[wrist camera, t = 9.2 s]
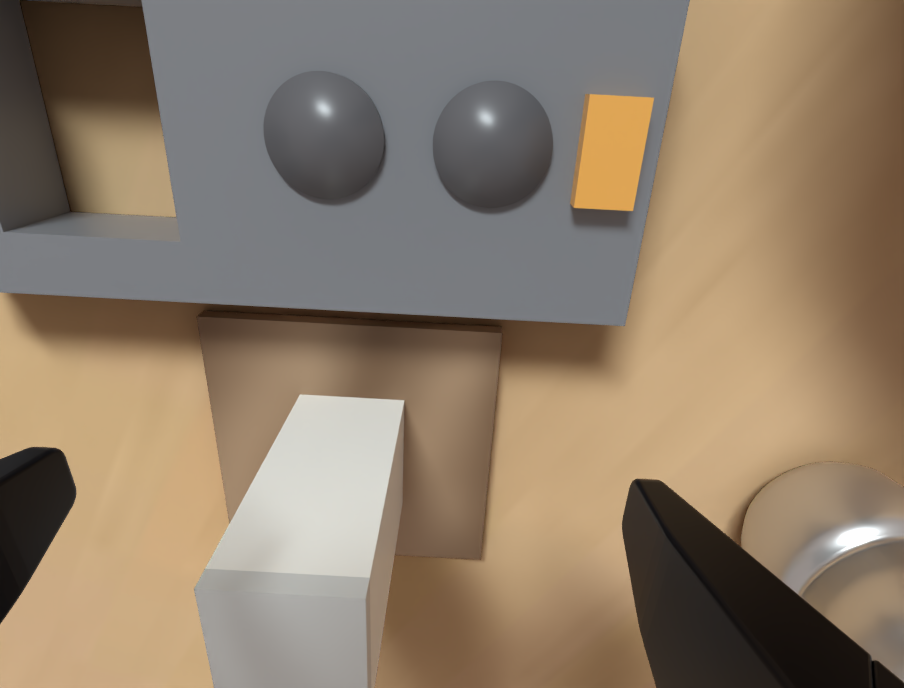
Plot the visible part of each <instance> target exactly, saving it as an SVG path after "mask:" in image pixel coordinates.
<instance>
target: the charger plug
mask: <svg viewBox="0 0 904 688" xmlns="http://www.w3.org/2000/svg"><path fill="white" fill-rule="evenodd" d="M403 450H404V400H390V399H373V398H355V397H337V396H319V395H301V394H300V395H299V397H298V399H297V401H296V403H295V404H294V406H293V408H292V410H291V412H290V414H289V415H288V417H287V419H286V421H285V423H284V425H283V427H282V428H281V430H280V432H279V434H278V436H277V438H276V439H275V441H274V443H273V445H272V447H271V449H270V450H269V452H268V454H267V456H266V458H265V460H264V461H263V463H262V465H261V467H260V469H259V471H258V472H257V474H256V476H255V478H254V480H253V482H252V483H251V485H250V487H249V489H248V491H247V493H246V495H245V496H244V498H243V500H242V502H241V504H240V506H239V507H238V509H237V511H236V513H235V515H234V517H233V518H232V520H231V522H230V524H229V526H228V528H227V529H226V531H225V533H224V535H223V537H222V539H221V540H220V542H219V544H218V546H217V548H216V550H215V551H214V553H213V555H212V557H211V559H210V561H209V563H208V564H207V566H206V568H205V570H204V572H203V574H202V575H201V577H200V579H199V581H198V583H197V585H196V586H195V588H194V591H195V596H196V601H197V606H198V611H199V616H200V621H201V626H202V631H203V635H204V640H205V645H206V650H207V655H208V660H209V665H210V670H211V675H212V680H213V685H214V688H375V682H376V675H377V668H378V662H379V655H380V649H381V642H382V635H383V629H384V622H385V616H386V609H387V602H388V596H389V589H390V582H391V576H392V569H393V563H394V556H395V549H396V543H397V536H398V529H399V523H400V516H401V510H402V503H403Z"/></svg>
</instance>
